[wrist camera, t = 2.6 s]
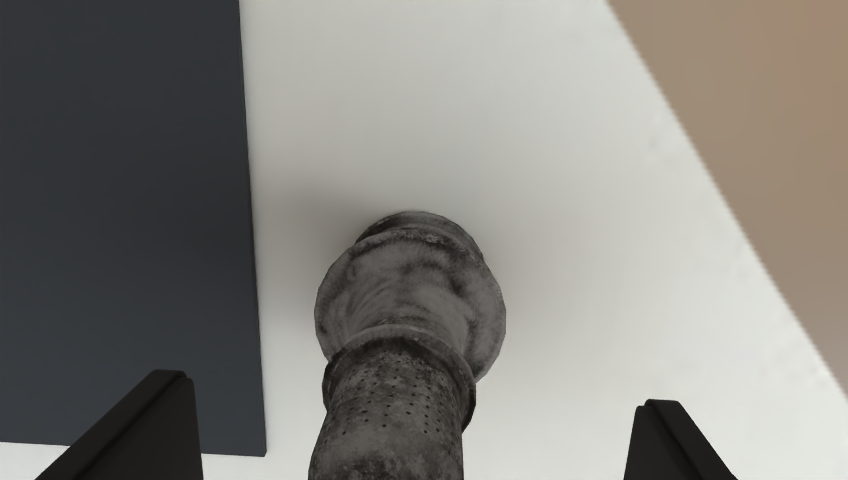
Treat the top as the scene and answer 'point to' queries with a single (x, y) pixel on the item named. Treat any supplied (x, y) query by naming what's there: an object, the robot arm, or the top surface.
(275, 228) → the top surface
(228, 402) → the mat
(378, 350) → the salt shaker
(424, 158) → the top surface
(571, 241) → the top surface
